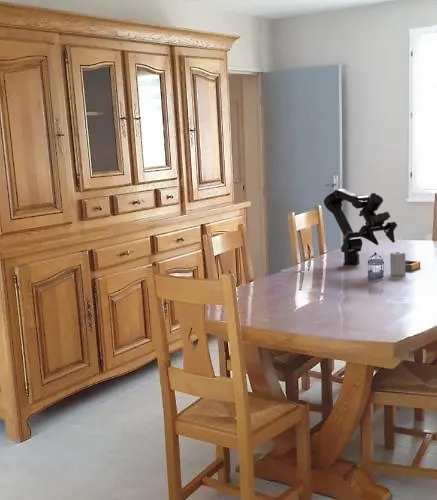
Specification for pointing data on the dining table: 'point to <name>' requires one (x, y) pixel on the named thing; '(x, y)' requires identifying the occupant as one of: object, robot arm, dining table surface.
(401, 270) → the grey upright block
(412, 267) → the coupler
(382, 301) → the dining table surface
